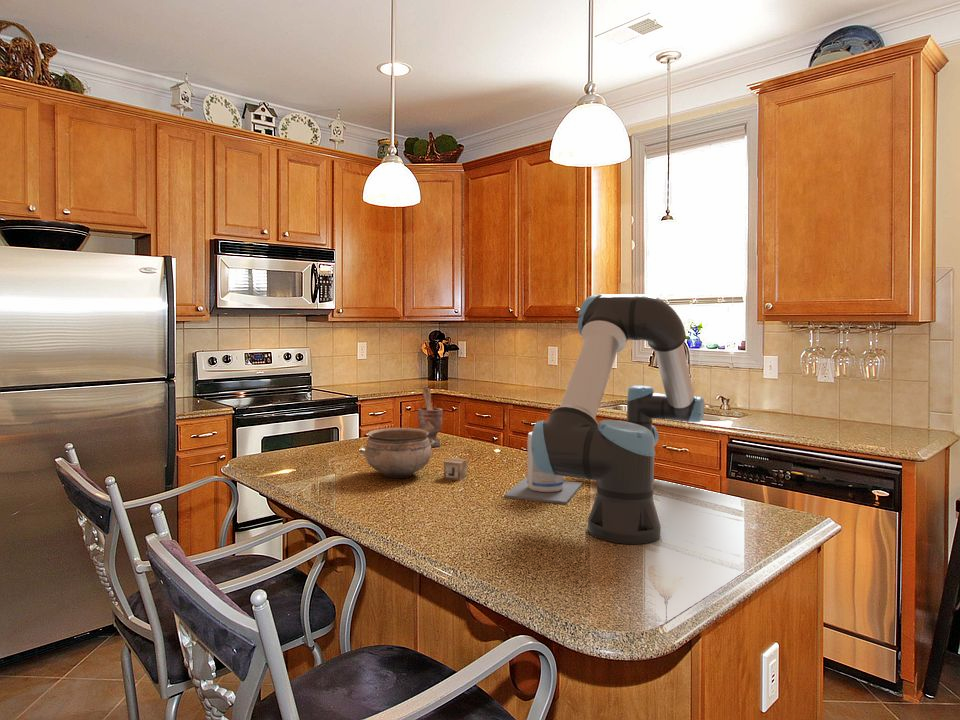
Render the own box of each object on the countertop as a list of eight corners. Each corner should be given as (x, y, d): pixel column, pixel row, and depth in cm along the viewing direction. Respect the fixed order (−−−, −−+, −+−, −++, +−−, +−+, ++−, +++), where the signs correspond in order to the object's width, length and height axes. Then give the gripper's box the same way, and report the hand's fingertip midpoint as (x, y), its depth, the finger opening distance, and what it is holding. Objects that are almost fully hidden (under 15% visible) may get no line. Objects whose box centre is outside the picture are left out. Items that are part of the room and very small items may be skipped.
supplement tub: (570, 490, 170) (572, 434, 169) (542, 495, 164) (543, 437, 163) (547, 482, 178) (548, 429, 177) (519, 486, 172) (520, 432, 171)
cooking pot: (378, 489, 170) (379, 443, 170) (342, 475, 185) (342, 433, 184) (453, 475, 187) (453, 433, 186) (414, 463, 201) (415, 424, 200)
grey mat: (566, 504, 159) (566, 501, 159) (503, 497, 164) (504, 494, 164) (582, 485, 178) (582, 482, 178) (525, 479, 183) (525, 477, 183)
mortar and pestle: (408, 443, 233) (409, 388, 231) (428, 441, 238) (429, 386, 237) (426, 448, 223) (426, 391, 222) (446, 446, 229) (447, 389, 227)
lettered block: (459, 481, 180) (459, 463, 180) (443, 479, 182) (443, 461, 182) (466, 476, 185) (467, 459, 185) (450, 475, 187) (450, 458, 187)
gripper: (654, 461, 181) (605, 472, 167) (585, 447, 200) (536, 456, 186) (655, 434, 180) (606, 443, 167) (586, 423, 199) (537, 430, 186)
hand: (569, 450), depth 176 cm, fingers open, 13 cm apart
